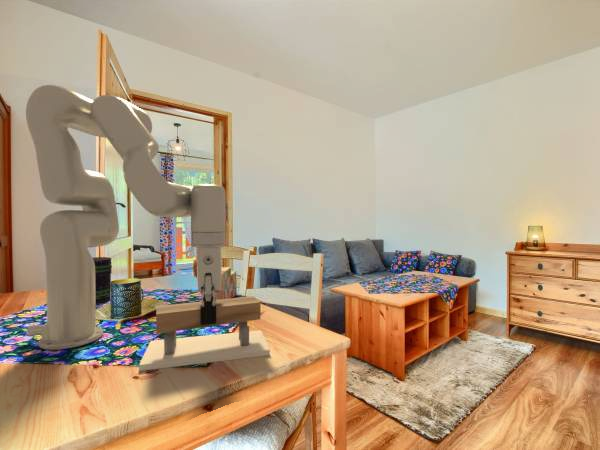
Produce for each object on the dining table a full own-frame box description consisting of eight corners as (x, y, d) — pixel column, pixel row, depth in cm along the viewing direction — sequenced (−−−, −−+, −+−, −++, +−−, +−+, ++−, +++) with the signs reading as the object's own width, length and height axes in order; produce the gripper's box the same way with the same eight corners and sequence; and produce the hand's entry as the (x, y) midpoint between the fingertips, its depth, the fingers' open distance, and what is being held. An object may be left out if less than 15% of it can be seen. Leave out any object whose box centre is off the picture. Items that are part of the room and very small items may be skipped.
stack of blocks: (221, 293, 120) (221, 262, 120) (236, 294, 120) (236, 263, 120) (203, 310, 99) (203, 272, 99) (222, 310, 99) (222, 273, 99)
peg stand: (139, 370, 60) (138, 344, 59) (150, 345, 71) (150, 323, 71) (269, 355, 67) (269, 331, 67) (260, 334, 78) (261, 314, 78)
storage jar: (85, 297, 112) (84, 257, 112) (115, 296, 115) (115, 256, 115) (74, 305, 103) (73, 261, 102) (107, 303, 106) (107, 260, 105)
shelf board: (260, 319, 71) (260, 302, 71) (156, 333, 62) (156, 314, 62) (253, 311, 76) (253, 296, 76) (156, 324, 67) (156, 306, 67)
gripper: (227, 242, 61) (227, 330, 62) (223, 237, 78) (223, 306, 78) (188, 243, 59) (188, 334, 59) (192, 237, 76) (193, 308, 76)
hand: (208, 317), depth 69 cm, fingers closed on shelf board, 6 cm apart
